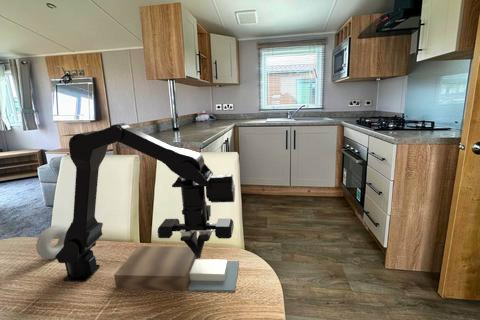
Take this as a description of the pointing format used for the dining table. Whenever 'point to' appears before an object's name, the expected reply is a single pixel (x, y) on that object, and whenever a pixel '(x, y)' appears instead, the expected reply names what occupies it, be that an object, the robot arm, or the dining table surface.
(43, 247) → the donut
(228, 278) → the mat
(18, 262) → the dining table surface
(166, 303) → the dining table surface
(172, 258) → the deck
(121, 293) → the dining table surface
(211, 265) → the white rectangular block
